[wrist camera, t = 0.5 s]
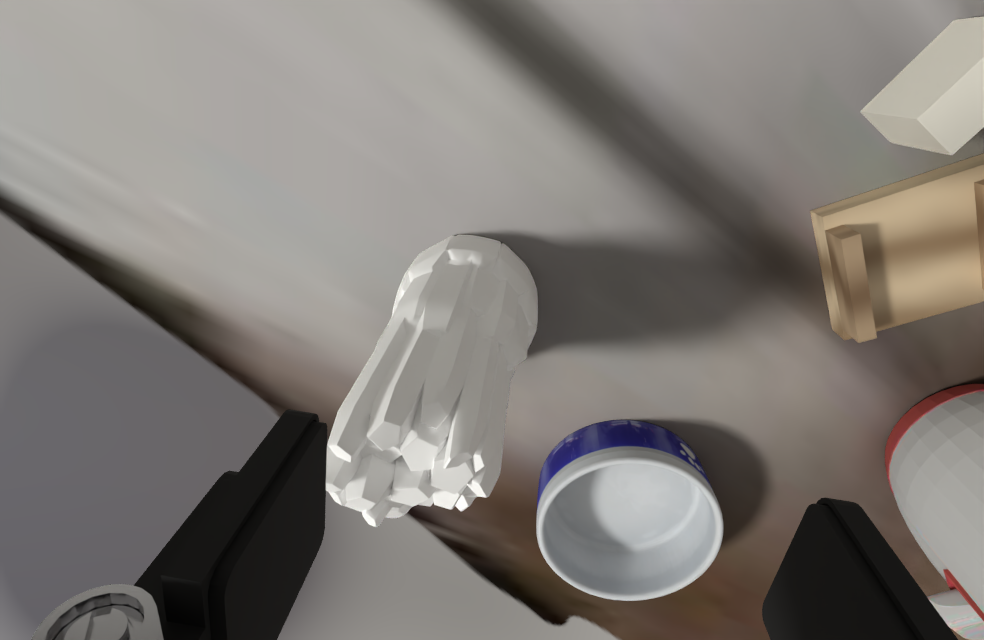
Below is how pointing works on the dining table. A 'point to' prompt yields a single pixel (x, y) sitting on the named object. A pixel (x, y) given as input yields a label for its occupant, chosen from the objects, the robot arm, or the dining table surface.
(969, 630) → the citrus juicer
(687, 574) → the dog bowl
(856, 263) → the wooden rack
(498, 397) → the white crystal cluster
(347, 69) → the dining table surface
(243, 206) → the dining table surface
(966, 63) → the frame block
